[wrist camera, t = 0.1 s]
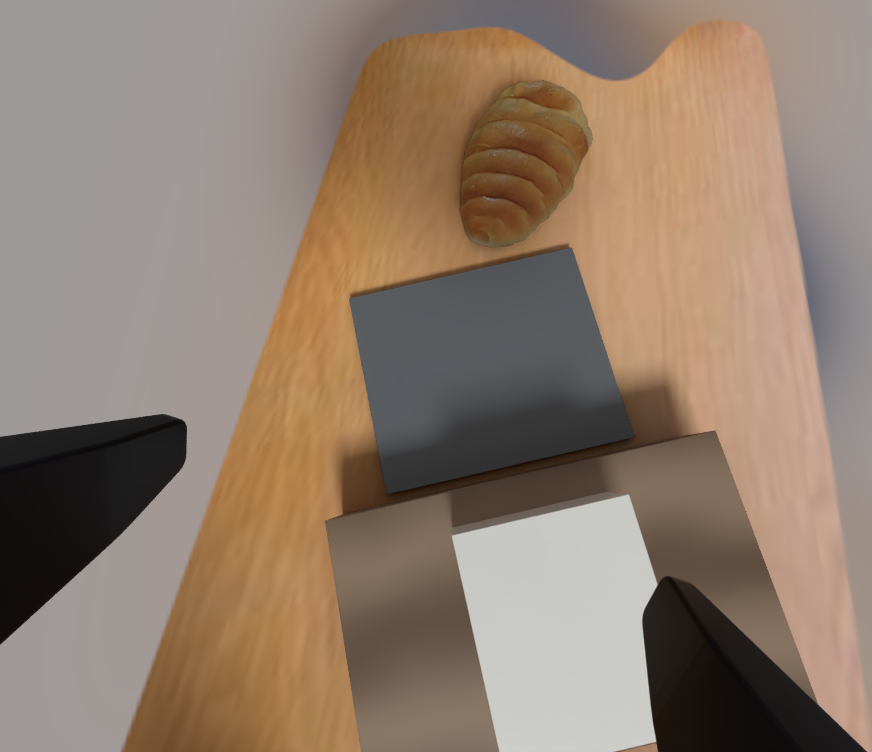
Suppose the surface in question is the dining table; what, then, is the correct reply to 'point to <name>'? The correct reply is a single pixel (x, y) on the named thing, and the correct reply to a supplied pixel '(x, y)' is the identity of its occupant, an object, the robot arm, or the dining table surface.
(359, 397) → the dining table surface
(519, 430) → the mat
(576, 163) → the pastry
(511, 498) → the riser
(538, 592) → the coaster
